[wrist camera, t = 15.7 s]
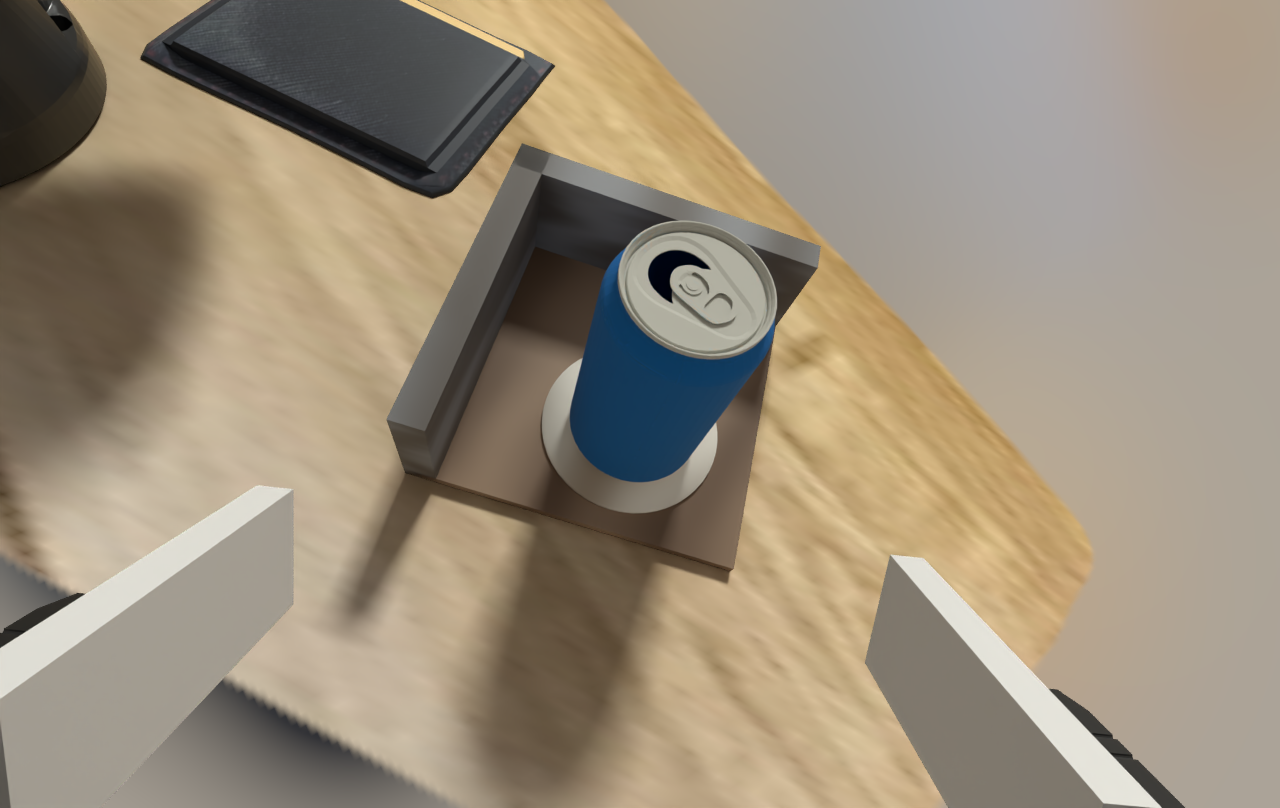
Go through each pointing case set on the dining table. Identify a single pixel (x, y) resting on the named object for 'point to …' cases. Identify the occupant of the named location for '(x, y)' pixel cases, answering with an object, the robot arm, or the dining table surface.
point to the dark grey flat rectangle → (360, 79)
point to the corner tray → (571, 364)
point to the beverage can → (669, 347)
